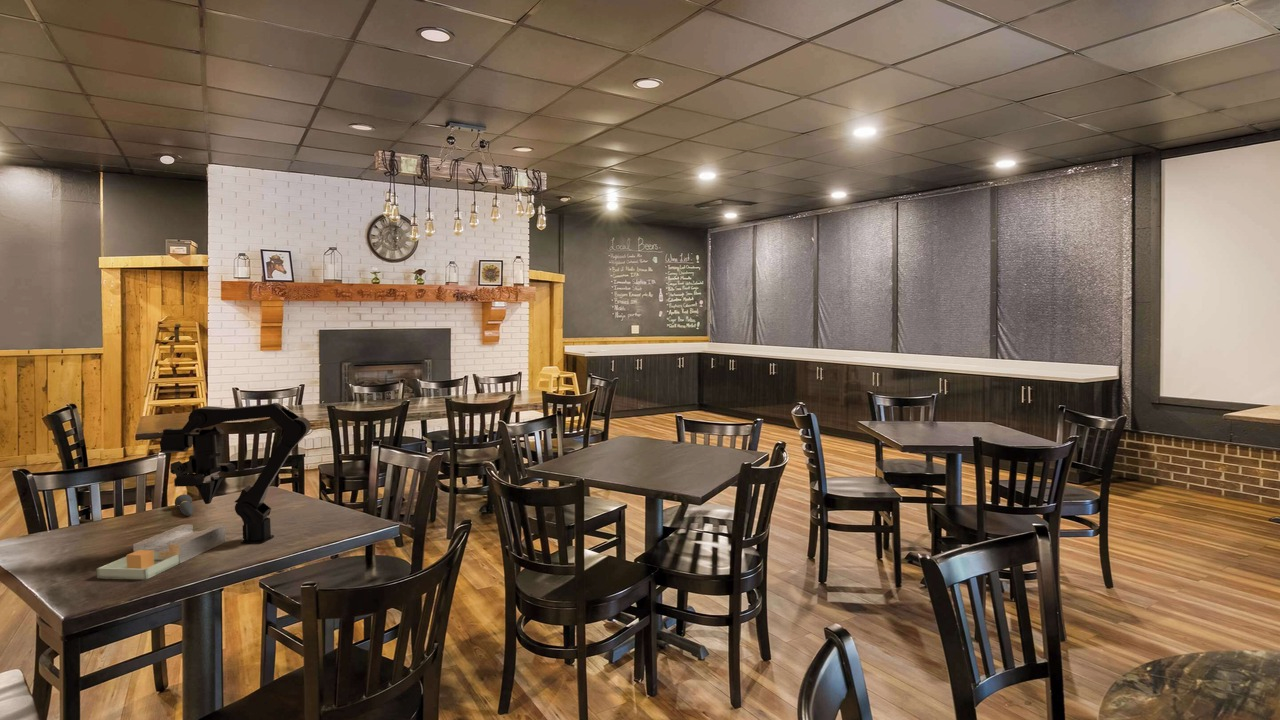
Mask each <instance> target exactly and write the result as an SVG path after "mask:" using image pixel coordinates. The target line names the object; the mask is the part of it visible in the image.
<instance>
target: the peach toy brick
mask: <svg viewBox="0 0 1280 720" xmlns="http://www.w3.org/2000/svg"><path fill="white" fill-rule="evenodd" d="M126 556H127V568H133V569H146V568H148V567H150V566H152V565H154V550H138V551H136V552H134V551H133V552H131V553H128V554H126Z"/></svg>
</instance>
